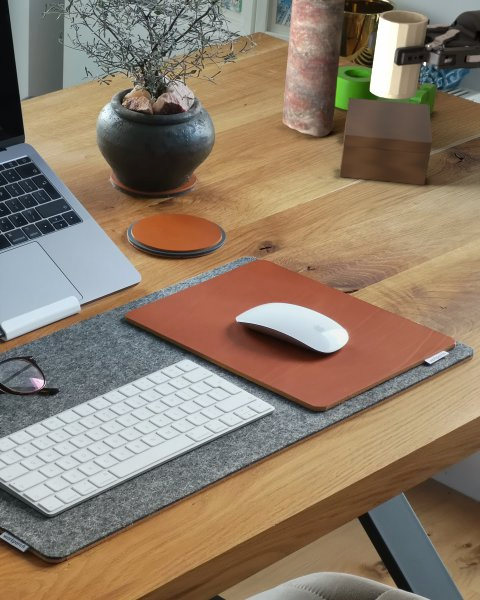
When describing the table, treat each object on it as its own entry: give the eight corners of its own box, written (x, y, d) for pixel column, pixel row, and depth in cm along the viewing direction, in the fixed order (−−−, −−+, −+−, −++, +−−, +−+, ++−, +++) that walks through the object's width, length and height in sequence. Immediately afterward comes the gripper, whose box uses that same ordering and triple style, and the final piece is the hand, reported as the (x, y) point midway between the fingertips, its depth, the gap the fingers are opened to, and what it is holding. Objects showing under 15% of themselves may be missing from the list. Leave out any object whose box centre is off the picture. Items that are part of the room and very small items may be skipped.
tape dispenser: (322, 104, 172) (325, 75, 169) (341, 91, 177) (345, 62, 174) (415, 126, 164) (420, 96, 162) (433, 111, 169) (438, 82, 167)
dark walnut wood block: (422, 144, 158) (429, 104, 155) (424, 185, 146) (431, 142, 143) (343, 137, 160) (348, 97, 157) (339, 176, 149) (344, 134, 146)
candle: (278, 136, 161) (291, -2, 150) (281, 117, 167) (294, -17, 157) (331, 140, 159) (349, 1, 149) (332, 121, 165) (349, -14, 155)
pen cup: (415, 85, 150) (427, 12, 145) (416, 101, 145) (428, 25, 140) (370, 81, 151) (380, 9, 146) (369, 97, 146) (379, 22, 141)
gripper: (469, -6, 153) (359, 5, 149) (534, 25, 141) (416, 37, 137) (460, 48, 156) (352, 59, 152) (521, 82, 145) (407, 95, 141)
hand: (383, 48), depth 145 cm, fingers closed on pen cup, 6 cm apart
